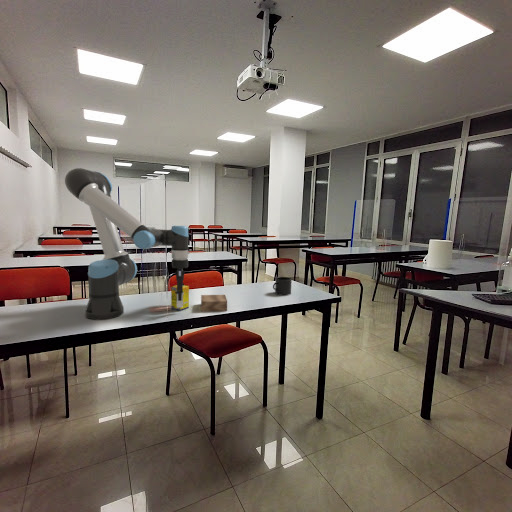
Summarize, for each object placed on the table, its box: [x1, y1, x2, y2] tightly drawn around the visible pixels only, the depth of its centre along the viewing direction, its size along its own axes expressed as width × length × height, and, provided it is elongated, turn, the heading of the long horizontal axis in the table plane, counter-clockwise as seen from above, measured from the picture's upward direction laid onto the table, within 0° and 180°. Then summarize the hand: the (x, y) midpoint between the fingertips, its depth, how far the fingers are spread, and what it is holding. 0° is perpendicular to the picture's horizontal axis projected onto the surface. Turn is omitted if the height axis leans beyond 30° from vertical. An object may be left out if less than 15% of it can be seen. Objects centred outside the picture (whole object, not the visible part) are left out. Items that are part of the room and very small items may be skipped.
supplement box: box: [170, 284, 190, 312], centre depth 143 cm, size 6×6×11 cm
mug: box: [272, 276, 292, 296], centre depth 177 cm, size 9×12×9 cm
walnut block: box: [200, 294, 228, 312], centre depth 147 cm, size 12×12×5 cm
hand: (180, 303), depth 143 cm, fingers open, 13 cm apart
